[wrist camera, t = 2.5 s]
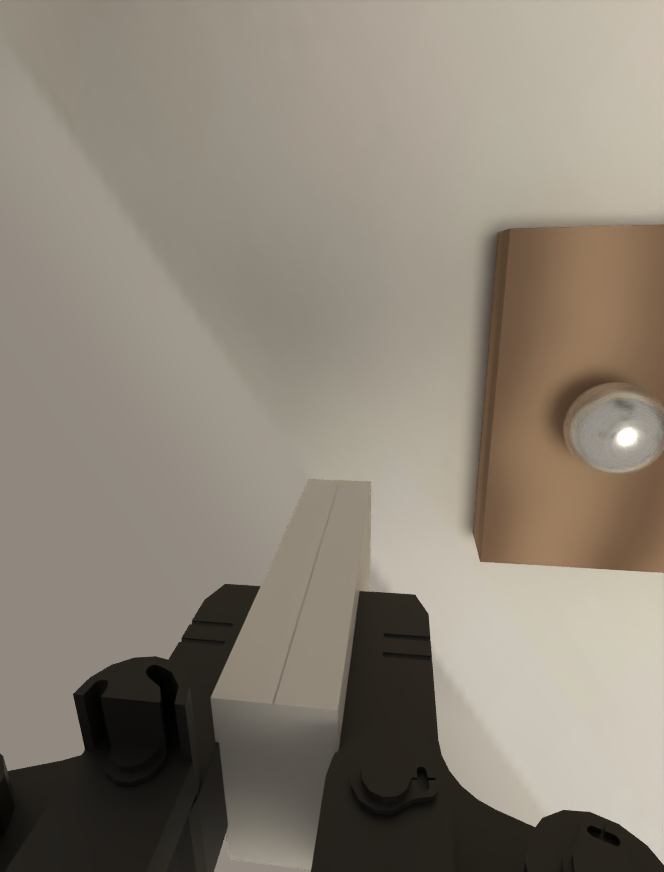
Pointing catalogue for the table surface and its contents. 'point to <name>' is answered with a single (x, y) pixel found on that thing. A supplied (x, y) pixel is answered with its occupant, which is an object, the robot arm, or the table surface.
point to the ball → (615, 428)
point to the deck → (569, 397)
